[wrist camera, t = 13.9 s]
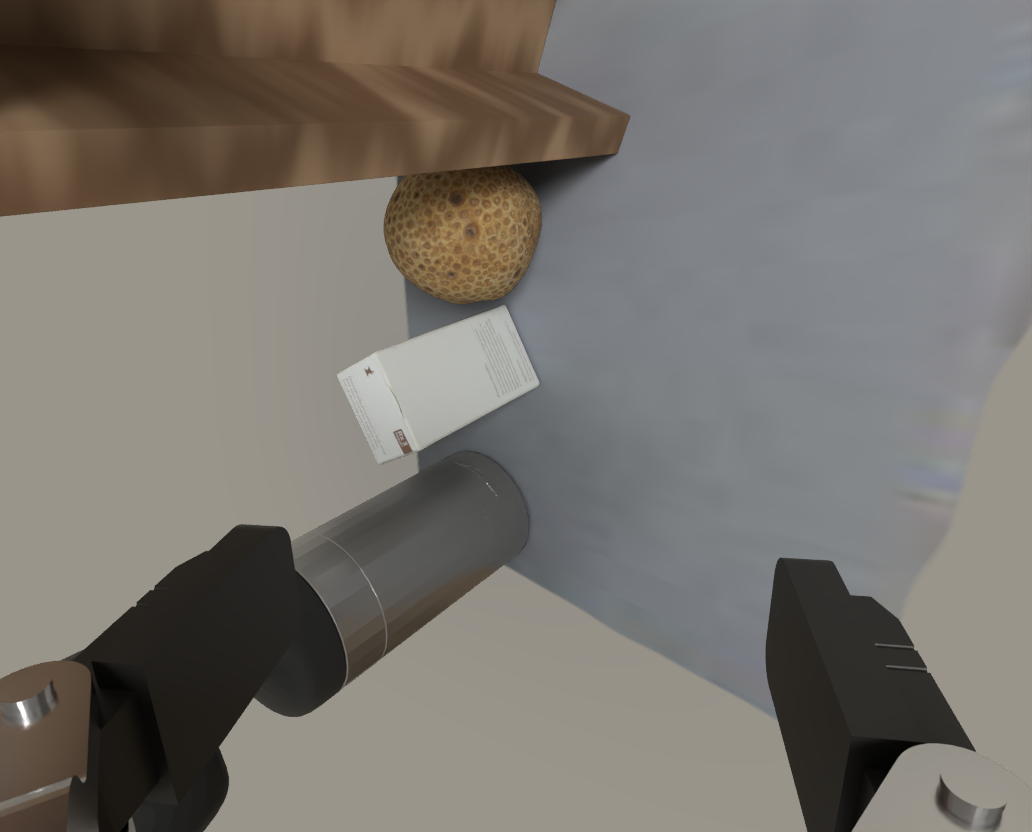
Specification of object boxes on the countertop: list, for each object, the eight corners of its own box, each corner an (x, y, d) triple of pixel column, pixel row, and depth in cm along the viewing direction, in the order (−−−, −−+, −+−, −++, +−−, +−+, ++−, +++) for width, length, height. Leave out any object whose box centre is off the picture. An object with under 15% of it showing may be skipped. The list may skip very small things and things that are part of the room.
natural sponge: (535, 318, 45) (427, 360, 38) (447, 232, 47) (328, 255, 40) (606, 201, 39) (493, 223, 32) (501, 108, 41) (374, 109, 34)
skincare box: (467, 323, 49) (328, 371, 40) (510, 300, 46) (369, 347, 37) (502, 404, 49) (372, 468, 40) (547, 386, 46) (417, 452, 37)
